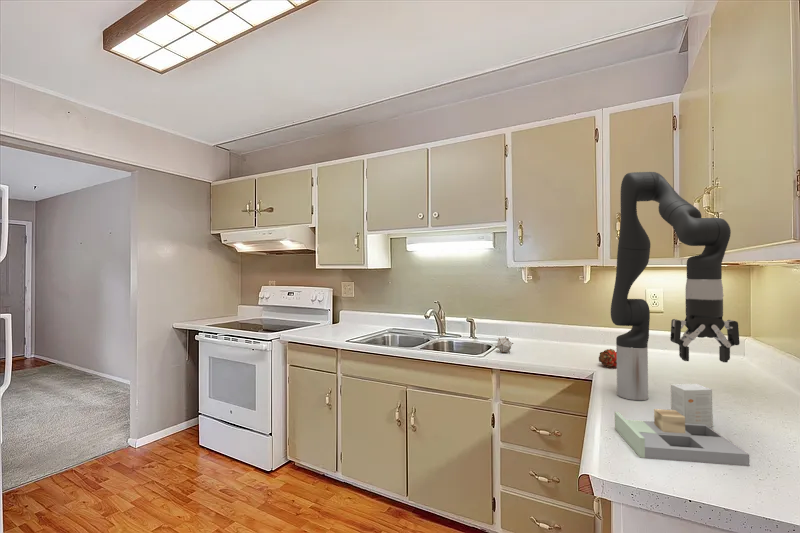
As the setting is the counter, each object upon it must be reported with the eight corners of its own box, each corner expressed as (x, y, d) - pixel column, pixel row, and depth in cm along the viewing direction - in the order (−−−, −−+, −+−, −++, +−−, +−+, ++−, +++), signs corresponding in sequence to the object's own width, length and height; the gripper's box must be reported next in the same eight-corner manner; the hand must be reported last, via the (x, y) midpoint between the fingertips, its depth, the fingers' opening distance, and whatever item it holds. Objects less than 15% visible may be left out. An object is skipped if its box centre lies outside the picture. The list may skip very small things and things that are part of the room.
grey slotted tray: (614, 428, 108) (614, 411, 108) (705, 434, 104) (705, 416, 104) (640, 457, 91) (639, 438, 91) (749, 465, 87) (749, 445, 87)
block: (654, 424, 104) (654, 409, 104) (675, 425, 103) (675, 410, 103) (663, 431, 99) (662, 415, 99) (685, 433, 98) (685, 417, 98)
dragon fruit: (607, 373, 170) (608, 371, 180) (625, 363, 167) (625, 361, 178) (594, 356, 173) (596, 354, 184) (612, 345, 171) (612, 345, 181)
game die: (508, 360, 205) (516, 346, 200) (492, 354, 205) (500, 341, 200) (507, 348, 212) (515, 335, 207) (492, 343, 213) (500, 329, 207)
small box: (697, 419, 114) (696, 383, 114) (713, 427, 108) (713, 389, 108) (670, 420, 113) (669, 383, 113) (684, 428, 108) (684, 389, 108)
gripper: (727, 296, 102) (727, 358, 102) (665, 295, 105) (665, 356, 105) (746, 298, 94) (746, 366, 95) (679, 298, 97) (679, 363, 97)
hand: (704, 361), depth 100 cm, fingers open, 8 cm apart
